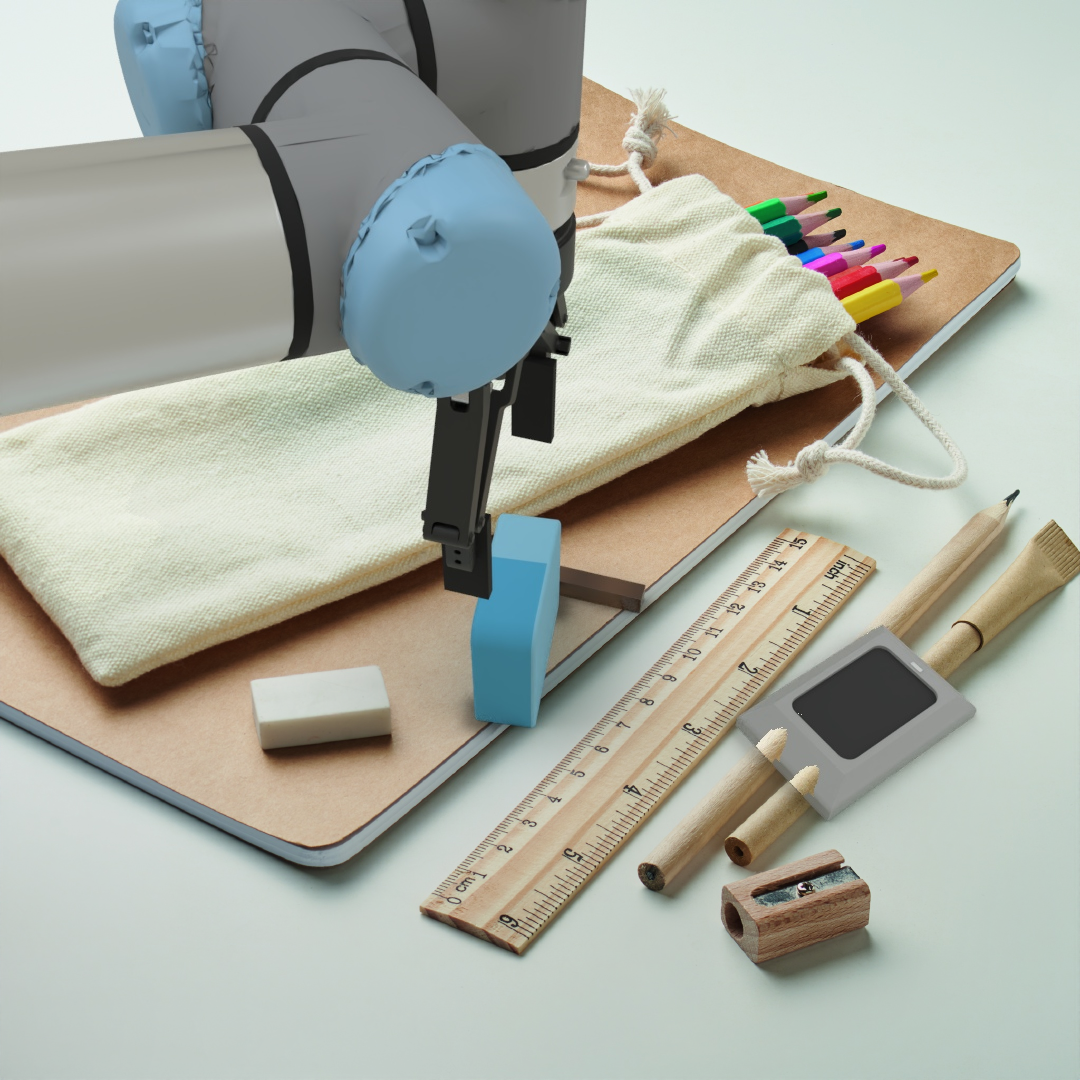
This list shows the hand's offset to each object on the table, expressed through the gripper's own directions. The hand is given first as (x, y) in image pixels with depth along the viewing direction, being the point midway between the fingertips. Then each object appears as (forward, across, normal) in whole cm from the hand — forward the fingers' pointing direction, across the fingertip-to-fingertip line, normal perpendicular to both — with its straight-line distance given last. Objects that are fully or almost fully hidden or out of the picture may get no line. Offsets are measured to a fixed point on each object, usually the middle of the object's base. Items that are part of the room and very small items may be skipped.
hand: (502, 509), depth 75 cm
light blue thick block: (+22, +4, 0) cm, 23 cm away
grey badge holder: (+22, +5, -25) cm, 34 cm away
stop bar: (+22, +12, -3) cm, 25 cm away
